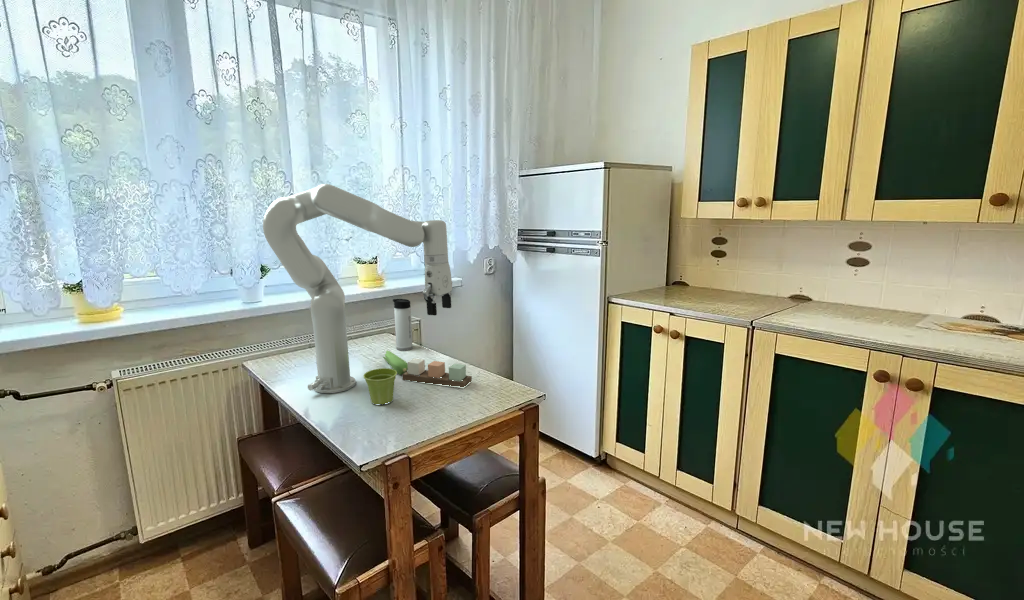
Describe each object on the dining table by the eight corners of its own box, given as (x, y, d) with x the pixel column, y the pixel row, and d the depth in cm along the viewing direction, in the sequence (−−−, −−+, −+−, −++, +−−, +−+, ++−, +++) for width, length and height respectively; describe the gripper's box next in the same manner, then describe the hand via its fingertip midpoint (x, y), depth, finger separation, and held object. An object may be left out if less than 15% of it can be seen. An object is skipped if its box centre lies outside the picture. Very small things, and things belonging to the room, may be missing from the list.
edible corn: (394, 366, 161) (407, 360, 162) (379, 351, 178) (390, 346, 179) (400, 379, 162) (412, 373, 164) (384, 363, 179) (395, 358, 181)
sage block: (460, 381, 153) (460, 369, 152) (449, 379, 155) (448, 367, 154) (466, 376, 157) (465, 364, 156) (454, 375, 158) (454, 363, 157)
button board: (463, 388, 152) (463, 382, 152) (402, 380, 160) (402, 374, 159) (471, 382, 158) (471, 376, 157) (412, 373, 165) (412, 368, 165)
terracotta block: (439, 378, 156) (438, 366, 155) (428, 376, 157) (427, 364, 156) (445, 373, 159) (444, 362, 159) (434, 372, 161) (433, 360, 160)
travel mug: (394, 347, 193) (391, 298, 189) (410, 345, 196) (408, 296, 192) (397, 352, 188) (394, 301, 183) (414, 349, 190) (411, 299, 186)
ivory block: (418, 375, 158) (418, 363, 157) (407, 373, 160) (407, 362, 159) (424, 371, 162) (424, 359, 161) (414, 369, 163) (413, 358, 162)
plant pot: (382, 411, 137) (380, 382, 135) (358, 404, 142) (356, 376, 140) (405, 399, 145) (403, 371, 143) (381, 393, 150) (379, 366, 148)
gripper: (432, 263, 147) (436, 318, 151) (459, 256, 163) (461, 305, 167) (411, 263, 150) (415, 317, 154) (439, 255, 165) (442, 304, 169)
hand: (439, 311), depth 160 cm, fingers open, 9 cm apart
